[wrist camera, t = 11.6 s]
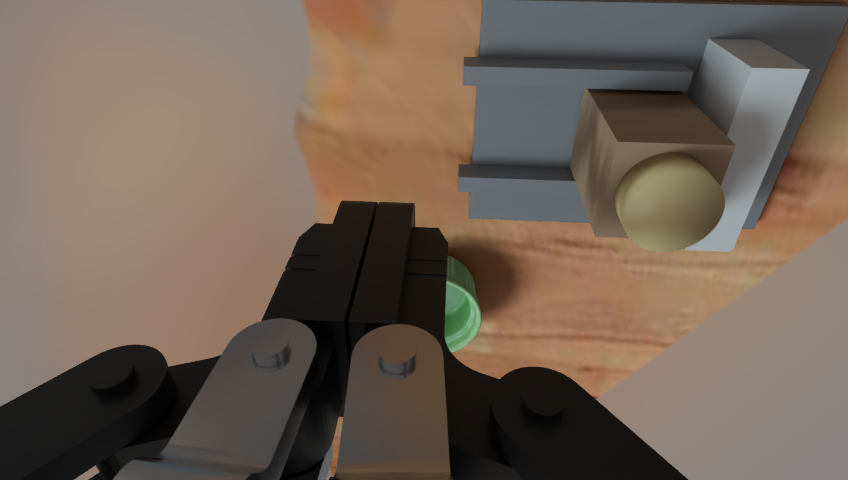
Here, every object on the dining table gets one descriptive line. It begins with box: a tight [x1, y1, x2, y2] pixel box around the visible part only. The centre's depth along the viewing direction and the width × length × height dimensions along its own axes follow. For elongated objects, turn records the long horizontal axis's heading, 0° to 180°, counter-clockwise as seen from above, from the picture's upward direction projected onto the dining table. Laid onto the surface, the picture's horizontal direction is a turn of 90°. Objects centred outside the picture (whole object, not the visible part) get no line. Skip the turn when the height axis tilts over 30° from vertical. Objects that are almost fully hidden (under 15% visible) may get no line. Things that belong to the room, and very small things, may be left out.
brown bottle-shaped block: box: [570, 89, 736, 252], centre depth 32 cm, size 6×6×11 cm
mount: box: [458, 0, 848, 252], centre depth 34 cm, size 16×23×7 cm
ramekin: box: [444, 255, 482, 352], centre depth 45 cm, size 9×9×4 cm
